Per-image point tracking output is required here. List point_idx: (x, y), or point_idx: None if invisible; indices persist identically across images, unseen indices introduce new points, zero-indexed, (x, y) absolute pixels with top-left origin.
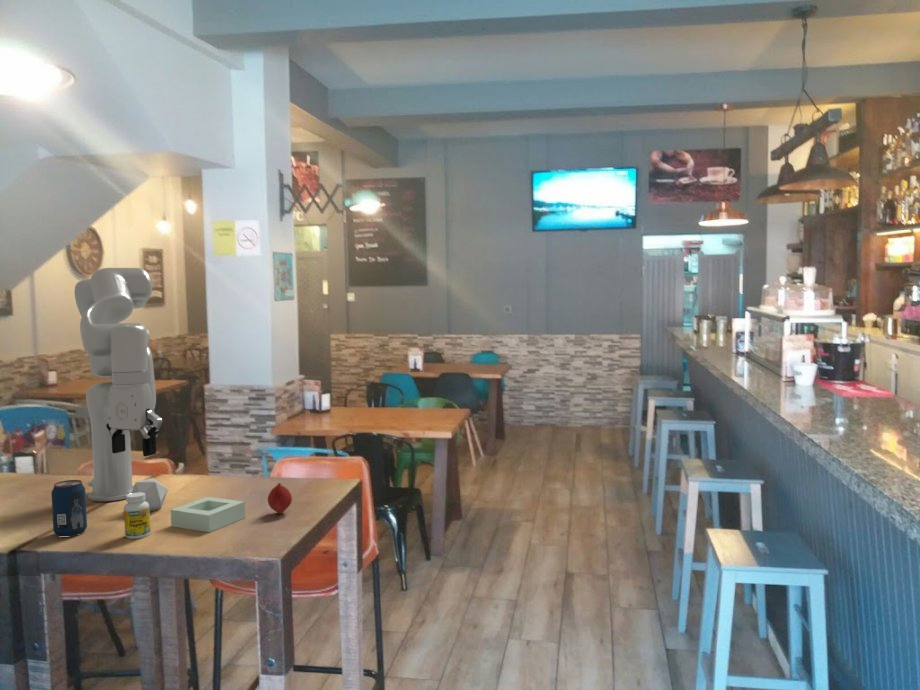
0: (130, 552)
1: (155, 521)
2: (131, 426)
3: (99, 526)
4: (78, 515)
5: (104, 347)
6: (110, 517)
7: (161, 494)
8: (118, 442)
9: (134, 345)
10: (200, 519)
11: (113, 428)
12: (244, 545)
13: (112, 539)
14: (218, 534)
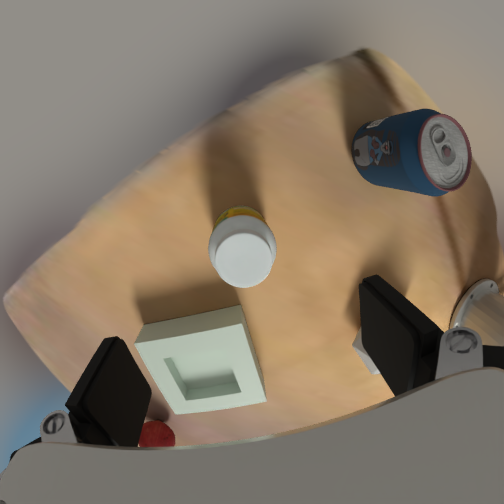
0: (146, 168)
1: (301, 300)
2: (62, 471)
3: (371, 212)
4: (367, 153)
5: None
6: (401, 256)
7: (362, 356)
8: (386, 340)
9: None
10: (158, 333)
11: (423, 385)
12: (52, 313)
13: (262, 182)
14: (123, 326)
